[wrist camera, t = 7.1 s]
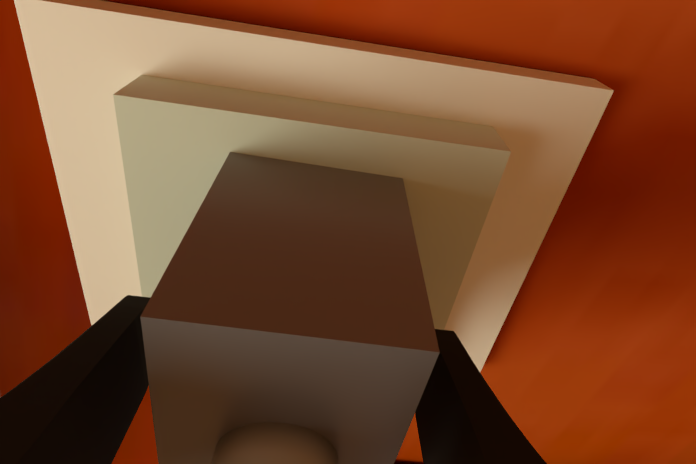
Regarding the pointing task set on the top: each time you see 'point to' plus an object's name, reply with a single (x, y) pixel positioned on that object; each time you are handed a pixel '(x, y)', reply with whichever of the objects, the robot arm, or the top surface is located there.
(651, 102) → the top surface
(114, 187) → the stand
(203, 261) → the housing
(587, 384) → the top surface
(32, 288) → the top surface
